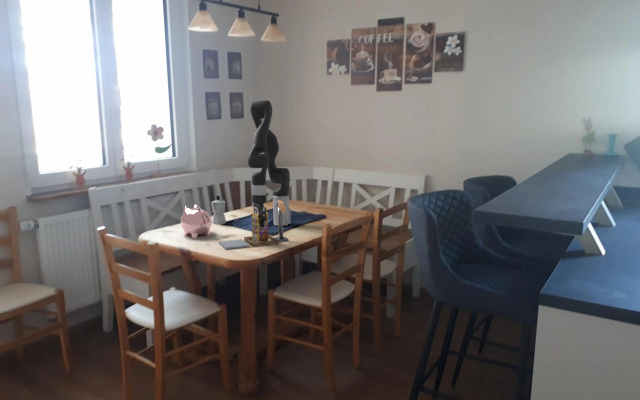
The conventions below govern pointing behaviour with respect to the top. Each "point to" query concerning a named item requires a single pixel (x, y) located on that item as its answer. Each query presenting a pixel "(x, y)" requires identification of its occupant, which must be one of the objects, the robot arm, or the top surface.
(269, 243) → the wooden tray
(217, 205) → the coffee maker
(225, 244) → the mat
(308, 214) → the top surface
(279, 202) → the arm
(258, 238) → the candy box
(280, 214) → the post
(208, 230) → the piggy bank
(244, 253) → the top surface
